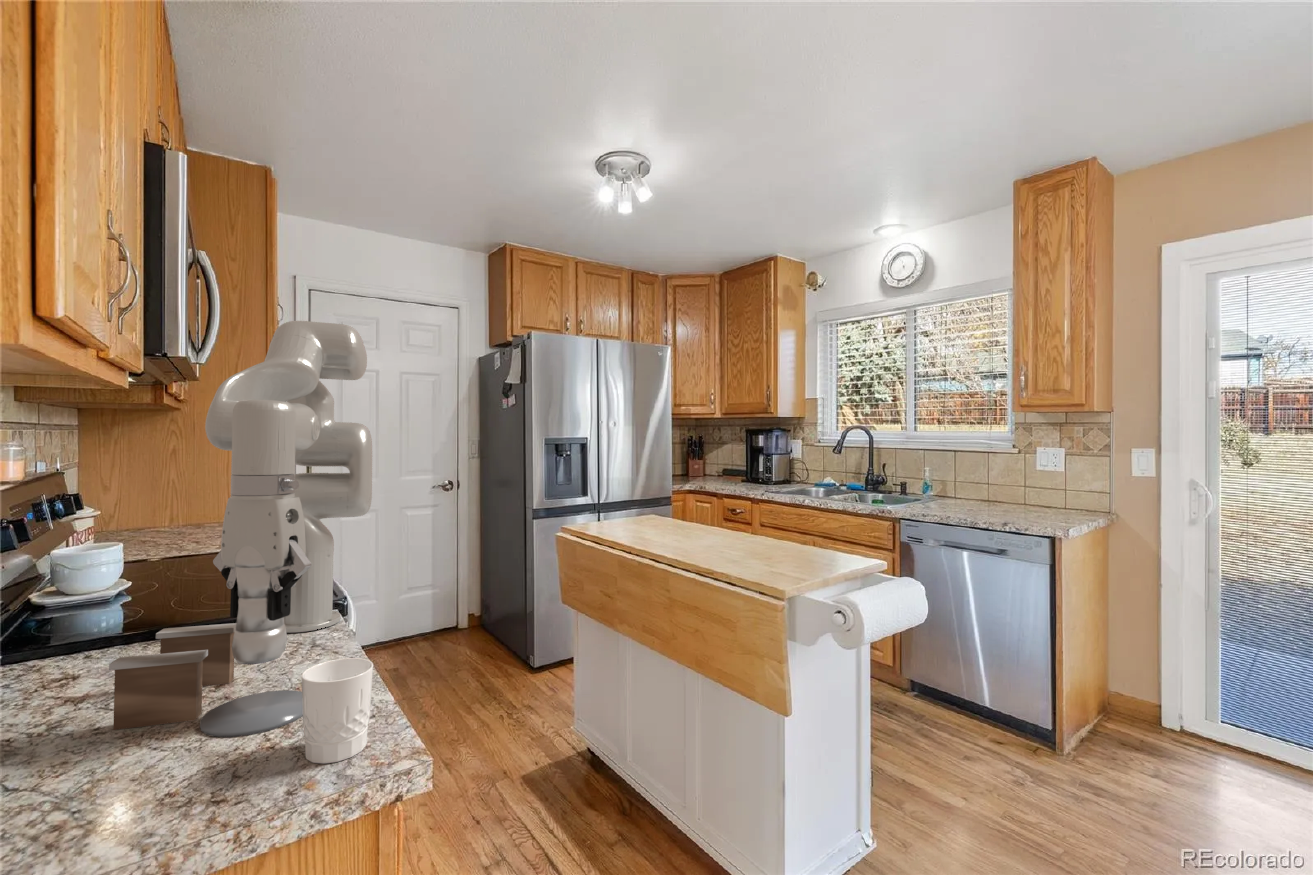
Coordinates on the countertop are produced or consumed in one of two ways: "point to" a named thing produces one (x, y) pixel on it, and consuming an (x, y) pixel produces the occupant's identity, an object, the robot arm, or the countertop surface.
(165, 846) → the countertop surface
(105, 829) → the countertop surface
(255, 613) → the grey bulging hollow cylinder
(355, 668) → the white cup
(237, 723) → the coaster
